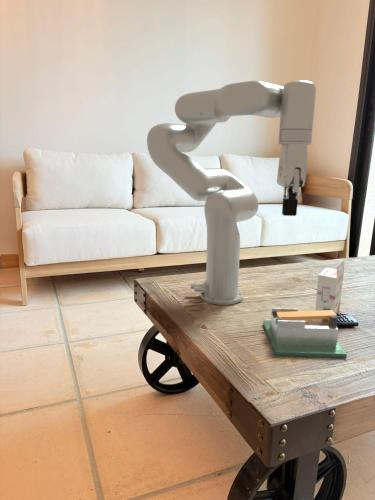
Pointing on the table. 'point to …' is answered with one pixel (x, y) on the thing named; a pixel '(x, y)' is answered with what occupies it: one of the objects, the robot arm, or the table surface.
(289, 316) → the orange wooden bar
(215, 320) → the table surface
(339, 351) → the board
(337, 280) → the ink cartridge box
